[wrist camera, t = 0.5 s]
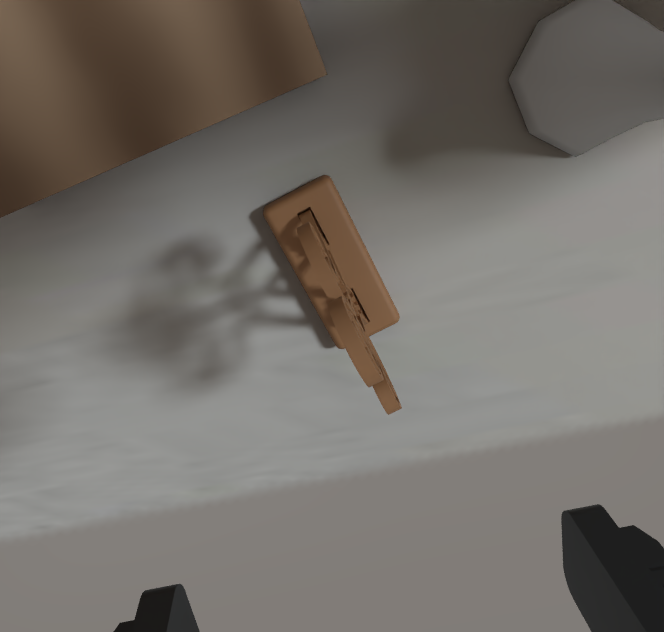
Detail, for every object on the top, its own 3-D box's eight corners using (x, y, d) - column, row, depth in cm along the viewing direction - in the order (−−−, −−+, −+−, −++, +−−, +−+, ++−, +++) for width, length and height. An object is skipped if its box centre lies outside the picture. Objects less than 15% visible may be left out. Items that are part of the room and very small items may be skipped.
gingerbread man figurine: (260, 207, 31) (252, 281, 20) (328, 172, 31) (357, 226, 20) (337, 345, 35) (366, 474, 23) (399, 315, 34) (458, 431, 23)
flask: (570, 181, 32) (688, 223, 23) (480, 80, 30) (571, 82, 21) (680, 73, 31) (854, 72, 21) (594, -41, 28) (748, -97, 19)
